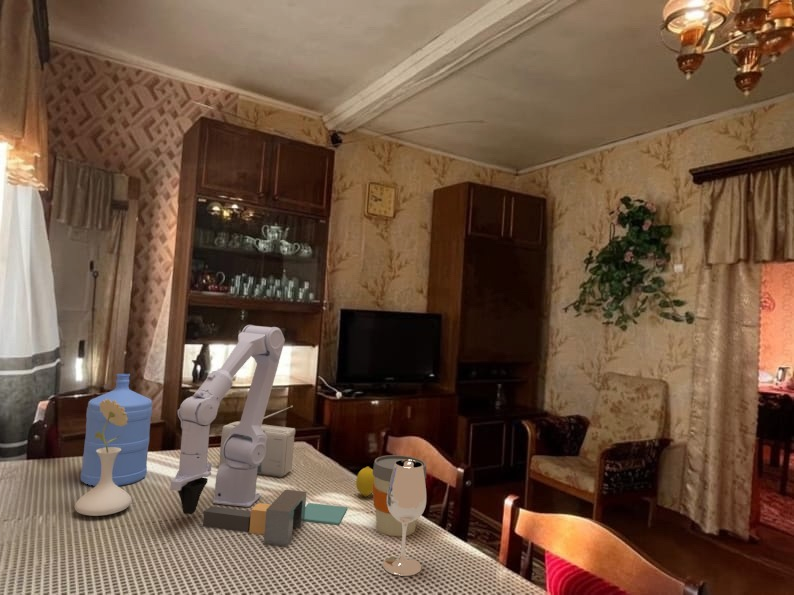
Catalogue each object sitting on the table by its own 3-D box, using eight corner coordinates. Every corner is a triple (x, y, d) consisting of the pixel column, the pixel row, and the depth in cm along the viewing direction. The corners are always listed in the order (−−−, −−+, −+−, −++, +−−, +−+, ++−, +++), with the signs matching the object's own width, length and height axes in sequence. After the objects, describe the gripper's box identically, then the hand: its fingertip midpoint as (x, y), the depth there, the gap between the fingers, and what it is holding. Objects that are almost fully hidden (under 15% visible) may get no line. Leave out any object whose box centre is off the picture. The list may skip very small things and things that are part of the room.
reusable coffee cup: (386, 512, 126) (391, 452, 126) (432, 526, 119) (436, 462, 120) (358, 529, 115) (362, 462, 116) (406, 545, 109) (410, 474, 109)
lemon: (373, 501, 133) (375, 470, 133) (352, 498, 134) (354, 468, 134) (377, 494, 138) (380, 465, 139) (358, 491, 139) (360, 462, 140)
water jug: (158, 478, 139) (166, 376, 140) (99, 492, 126) (109, 379, 127) (126, 465, 148) (135, 369, 149) (68, 478, 134) (78, 372, 136)
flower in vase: (139, 512, 116) (148, 402, 117) (82, 525, 107) (93, 406, 108) (118, 496, 125) (128, 394, 126) (65, 506, 116) (75, 397, 117)
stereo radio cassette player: (217, 470, 150) (223, 402, 151) (232, 462, 158) (237, 398, 159) (282, 479, 145) (288, 409, 146) (294, 471, 153) (299, 405, 154)
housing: (263, 543, 105) (266, 509, 105) (283, 520, 117) (285, 489, 117) (287, 546, 104) (289, 512, 104) (304, 522, 117) (306, 491, 117)
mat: (296, 520, 117) (296, 518, 118) (308, 504, 127) (308, 502, 127) (338, 525, 116) (339, 522, 117) (347, 509, 126) (347, 507, 126)
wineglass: (381, 556, 103) (387, 457, 103) (419, 557, 103) (425, 458, 104) (383, 576, 95) (390, 468, 96) (424, 577, 95) (431, 470, 96)
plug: (249, 533, 109) (251, 509, 110) (256, 525, 113) (257, 503, 114) (270, 535, 109) (272, 512, 109) (276, 528, 113) (278, 505, 113)
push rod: (202, 527, 111) (203, 511, 111) (209, 521, 114) (211, 505, 114) (247, 533, 110) (249, 517, 110) (254, 527, 113) (255, 511, 113)
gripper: (195, 462, 106) (189, 528, 105) (225, 445, 120) (220, 503, 120) (163, 458, 107) (157, 524, 106) (197, 442, 121) (192, 500, 120)
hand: (189, 512), depth 113 cm, fingers closed
